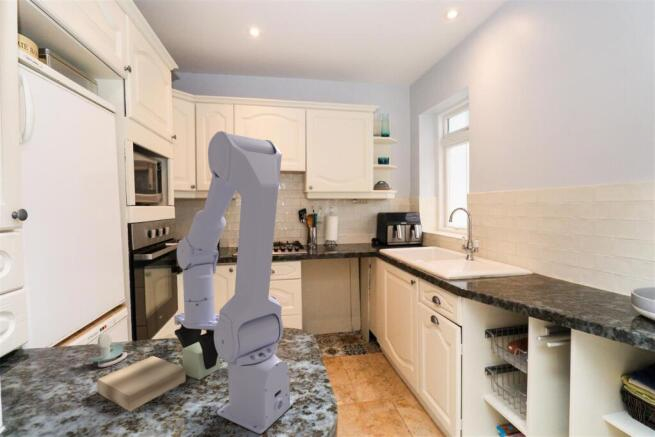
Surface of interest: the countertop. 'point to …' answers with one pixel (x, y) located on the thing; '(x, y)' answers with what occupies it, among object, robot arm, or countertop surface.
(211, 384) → the countertop surface
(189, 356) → the green cube
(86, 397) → the countertop surface
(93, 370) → the countertop surface
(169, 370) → the block
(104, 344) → the pacifier
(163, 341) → the countertop surface
